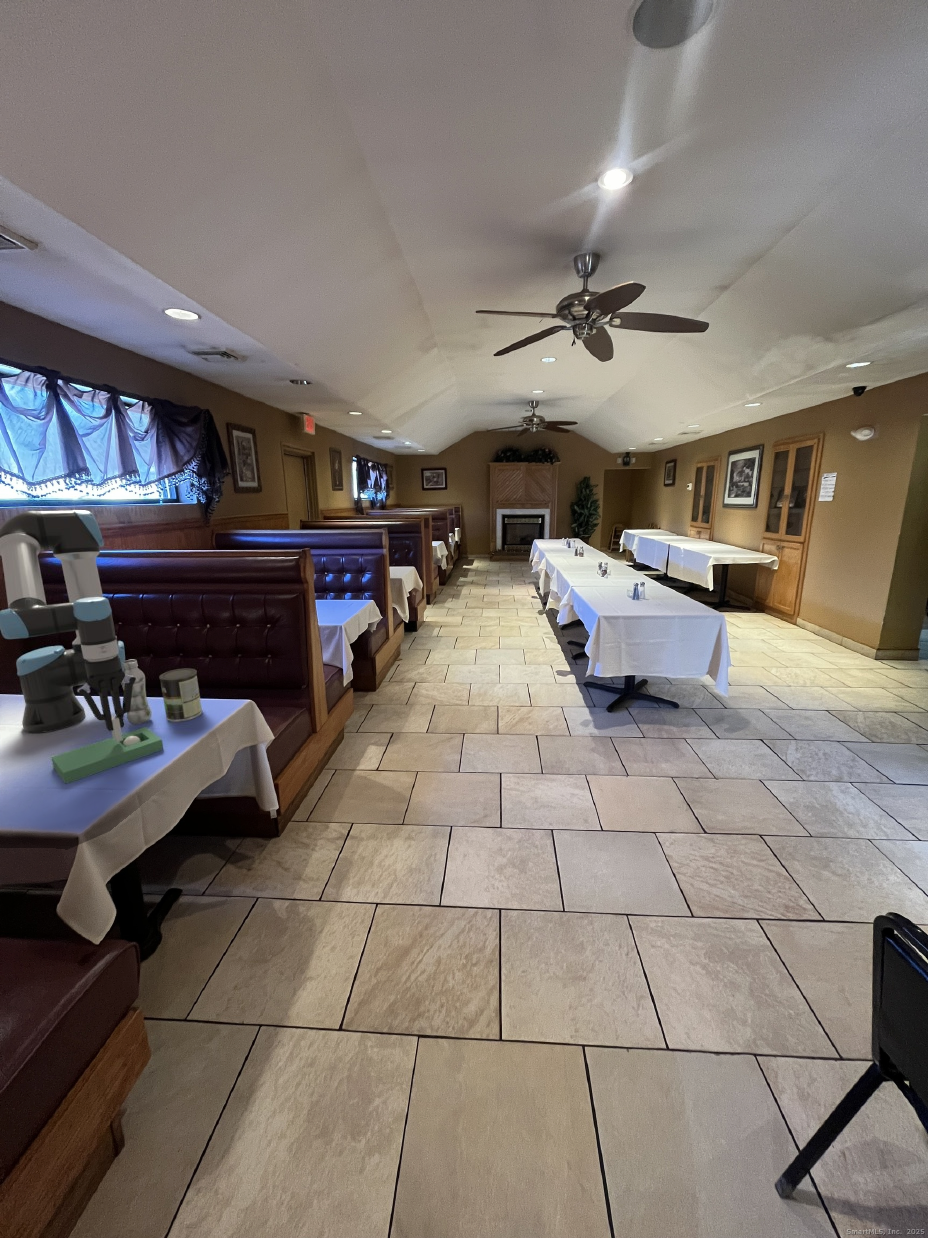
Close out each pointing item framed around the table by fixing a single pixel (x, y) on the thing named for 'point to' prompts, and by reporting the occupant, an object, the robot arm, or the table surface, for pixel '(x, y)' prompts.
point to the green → (104, 755)
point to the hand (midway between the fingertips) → (118, 739)
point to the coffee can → (181, 694)
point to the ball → (131, 741)
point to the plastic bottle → (137, 694)
